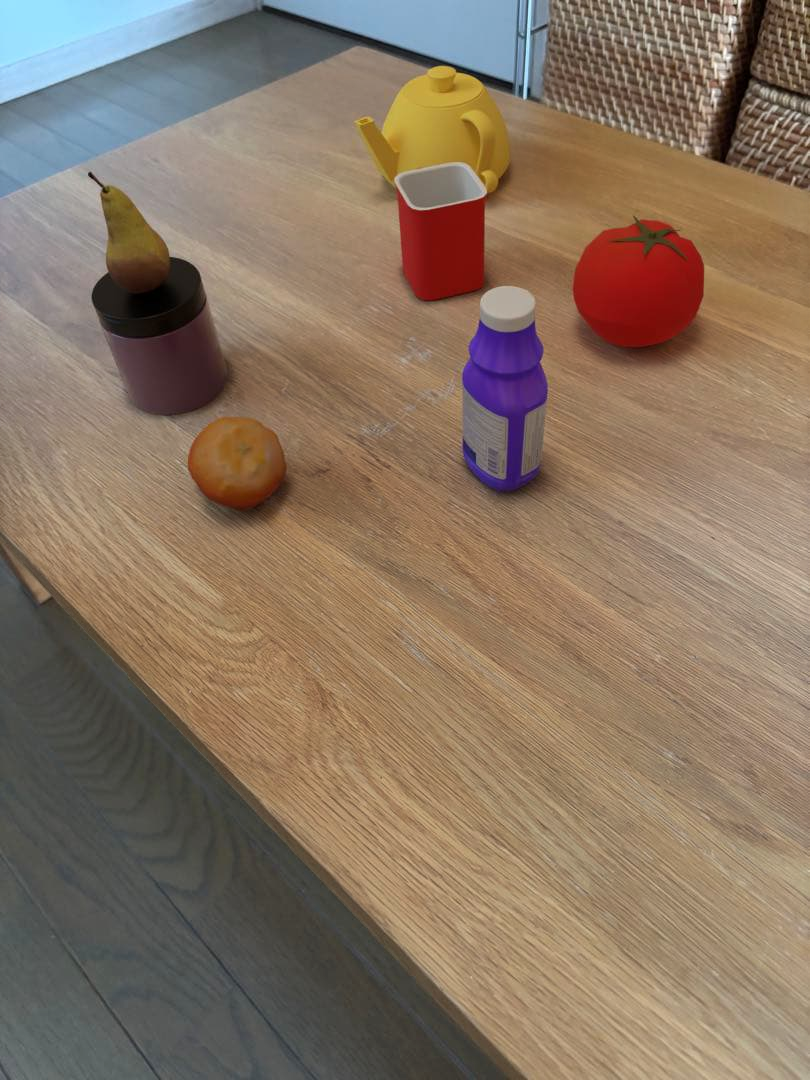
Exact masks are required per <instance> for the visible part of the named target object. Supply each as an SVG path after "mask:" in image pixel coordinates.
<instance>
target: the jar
mask: <svg viewBox="0 0 810 1080" xmlns="http://www.w3.org/2000/svg"><path fill="white" fill-rule="evenodd" d="M98 321H99V324H100V327H101V330H102V331H103V334H104V338H105V340H106V342H107V344H108V347H109V349H110V352H111V354H112V357H113V359H114V362H115V365H116V367H117V370H118V372H119V374H120V377H121V380H122V383H123V385H124V387H125V391H126V393H127V395H128V398H129V399H130V402H132V404H133V405H134V406H136V408H138V409H140V410H141V411H144V412H146V413H149V414H153V415H158V416H159V415H160V416H175V415H181V414H185V413H189V412H192V411H195V410H198V409H200V408H201V407H204V406H205V405H207V404H209V403H210V402H212V401H213V400H214V399H216V397H218V396H219V395H220V394H221V393H222V391H223V390H224V388H225V387H226V384H227V382H228V376H229V375H228V374H229V372H228V369H227V365H226V361H225V357H224V354H223V350H222V346H221V342H220V340H219V339H220V338H219V336H218V331H217V328H216V324H215V321H214V318H213V314H212V310H211V307H210V303H209V299H208V296H207V293H206V292H205V302H204V305H203V307H202V309H201V310H200V311H199V313H198V314H197V315H196V316H195V317H194V318H192V319H191V320H190V321H188V322H187V323H185V324H184V325H182V326H180V327H178V328H176V329H173V330H171V331H168V332H165V333H161V334H158V335H152V336H144V337H131V336H123V335H119V334H116V333H113V332H111V331H109V330H108V329H106V328H105V327H104V326H103V325H102V324H101V322H100V320H99V319H98Z"/></svg>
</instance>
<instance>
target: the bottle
mask: <svg viewBox="0 0 810 1080" xmlns="http://www.w3.org/2000/svg"><path fill="white" fill-rule="evenodd" d="M544 351H545V350H544V345H543V343H542V340H541V339H540V338H539V336H538V334H537V329H536V299H535V297H534V295H533V294H532V293H531V292H530V291H528V290H527V289H524V288H522V287H520V286H519V287H518V286H515V285H513V286H512V285H502V286H501V285H500V286H497V287H494V288H491V289H489V290H487V291H486V292H485V293H484V294H483V295H481V299H480V301H479V320H478V326H477V330H476V332H475V335H474V336H473V337H472V339H470V341H469V343H468V354H469V358H468V360H467V361H466V363H465V365H464V367H463V370H462V375H461V381H462V383H461V384H462V385H461V387H462V448H461V449H462V454H463V457H464V460H465V463H466V464H467V466H468V468H469V469H470V471H471V472H472V473H473V474H474V475H475V477H477V479H479V480H480V482H482V483H484V484H485V485H486V486H488V487H490V488H492V489H494V490H495V491H499V492H504V493H505V492H510V491H511V492H512V491H513V490H517V489H519V488H521V487H522V486H525V485H527V483H530V482H531V481H532V480H533V479H534V478H535V477H536V476H537V475H538V473H539V471H540V470H541V465H542V457H543V448H544V447H543V446H544V438H545V427H546V426H545V425H546V413H547V404H548V393H549V385H548V380H547V376H546V373H545V370H544V368H543V365H542V363H541V361H542V359H543V356H544Z"/></svg>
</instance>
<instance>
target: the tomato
mask: <svg viewBox="0 0 810 1080" xmlns="http://www.w3.org/2000/svg"><path fill="white" fill-rule="evenodd" d="M632 217H633V219H634V221H635V222H634V223H632V224H630V225H628V226H625V227H614V228H608V229H604V230H601V232H599V234H598V235H597V236H595V237H594V238H593V239H592V240H591V241H590V242H589V244H587V245H586V246H585V247H584V249H583V252H582V254H580V255H581V256H580V258H579V259H578V262H577V264H576V266H575V268H574V275H573V282H572V294H573V295H572V296H573V301H574V304H575V306H576V309H577V311H578V313H579V315H580V316H581V317H582V319H583V320H584V321H585V323H586V324H587V325H588V326H589V327H590V329H591V330H592V331H593V332H594V333H595V334H596V335H598V336H599V337H600V338H601V339H603V340H604V341H606V342H607V343H609V344H612V345H616V346H618V347H621V348H622V347H623V348H626V347H627V348H641V347H647V346H653V345H658V344H662V343H665V342H667V341H669V340H670V339H672V338H673V337H676V336H677V335H680V333H682V332H683V331H684V330H686V329H687V328H688V327H689V326H690V325H691V324H692V322H693V321H694V320H695V318H696V317H697V314H698V312H699V309H700V308H701V304H702V301H703V299H704V295H705V294H704V293H705V292H704V291H705V290H704V289H705V264H704V260H703V257H702V255H701V254H700V252H699V250H698V249H697V247H696V246H695V244H694V243H693V241H692V240H691V239H688V238H685V237H682V236H681V235H680V234H679V233H678V232H680V231H681V229H675V228H674V226H672V225H671V224H668V223H666V222H662V221H659V220H656V219H655V220H653V219H638V218H637V217H636V216H635V215H634V214H633V215H632Z"/></svg>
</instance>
